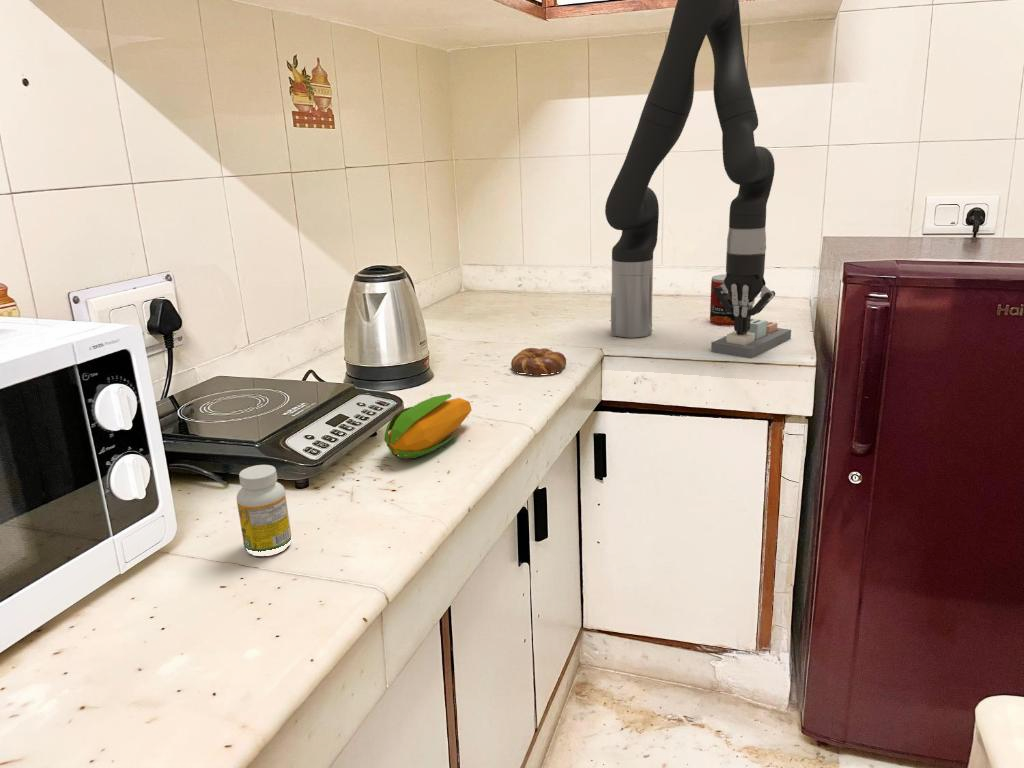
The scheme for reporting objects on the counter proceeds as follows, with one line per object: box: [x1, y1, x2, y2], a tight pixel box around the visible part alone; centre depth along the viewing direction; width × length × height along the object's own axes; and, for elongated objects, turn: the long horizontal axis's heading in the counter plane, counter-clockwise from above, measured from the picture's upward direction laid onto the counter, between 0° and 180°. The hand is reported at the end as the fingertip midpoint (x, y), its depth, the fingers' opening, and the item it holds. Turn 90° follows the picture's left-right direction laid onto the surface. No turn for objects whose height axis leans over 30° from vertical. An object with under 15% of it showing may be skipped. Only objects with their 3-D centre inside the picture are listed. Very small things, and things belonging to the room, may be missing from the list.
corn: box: [383, 393, 472, 460], centre depth 117 cm, size 7×8×20 cm
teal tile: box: [748, 318, 768, 340], centre depth 164 cm, size 4×4×4 cm
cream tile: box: [726, 330, 755, 345], centre depth 160 cm, size 4×4×4 cm
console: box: [710, 327, 792, 359], centre depth 164 cm, size 9×19×2 cm, turn 138°
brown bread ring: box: [510, 347, 567, 375], centre depth 154 cm, size 12×11×4 cm
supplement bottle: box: [236, 464, 292, 552], centre depth 88 cm, size 5×5×10 cm
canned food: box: [709, 273, 735, 326], centre depth 183 cm, size 8×8×11 cm
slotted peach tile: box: [766, 321, 778, 334], centre depth 168 cm, size 4×4×4 cm
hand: (741, 333), depth 160 cm, fingers closed
